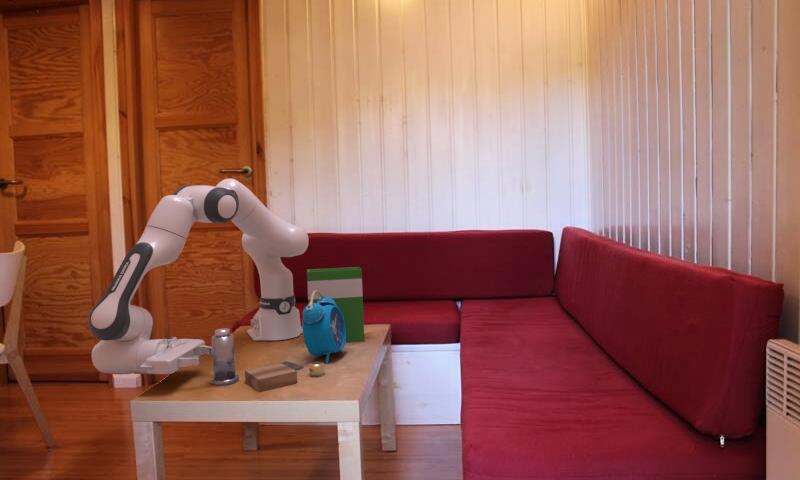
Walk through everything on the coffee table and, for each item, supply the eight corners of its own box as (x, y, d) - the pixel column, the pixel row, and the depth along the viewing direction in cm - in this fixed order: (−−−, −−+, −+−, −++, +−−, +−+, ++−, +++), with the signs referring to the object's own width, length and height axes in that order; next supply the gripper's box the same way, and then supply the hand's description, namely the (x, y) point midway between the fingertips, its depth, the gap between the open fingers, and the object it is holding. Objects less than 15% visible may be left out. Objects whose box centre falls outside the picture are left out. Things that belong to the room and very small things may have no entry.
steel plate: (268, 370, 151) (268, 366, 151) (286, 365, 155) (285, 361, 155) (286, 375, 145) (286, 371, 145) (303, 370, 150) (303, 365, 150)
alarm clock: (334, 365, 151) (331, 295, 150) (299, 364, 153) (296, 295, 152) (351, 349, 168) (348, 286, 166) (319, 349, 170) (317, 286, 168)
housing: (207, 381, 141) (204, 329, 140) (233, 375, 145) (231, 325, 144) (215, 387, 136) (212, 334, 135) (242, 381, 140) (240, 329, 139)
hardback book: (362, 336, 185) (359, 266, 183) (364, 341, 178) (361, 269, 176) (310, 340, 182) (307, 269, 181) (310, 345, 175) (306, 272, 173)
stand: (245, 381, 139) (244, 370, 139) (281, 373, 145) (281, 362, 145) (259, 391, 131) (258, 379, 131) (297, 382, 137) (296, 371, 137)
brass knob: (306, 374, 144) (306, 363, 144) (320, 371, 146) (319, 360, 146) (313, 378, 141) (312, 366, 141) (327, 375, 143) (326, 363, 143)
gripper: (133, 355, 131) (188, 354, 130) (173, 335, 151) (221, 334, 150) (134, 381, 131) (189, 380, 130) (175, 357, 152) (223, 356, 151)
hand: (207, 355), depth 140 cm, fingers open, 8 cm apart
